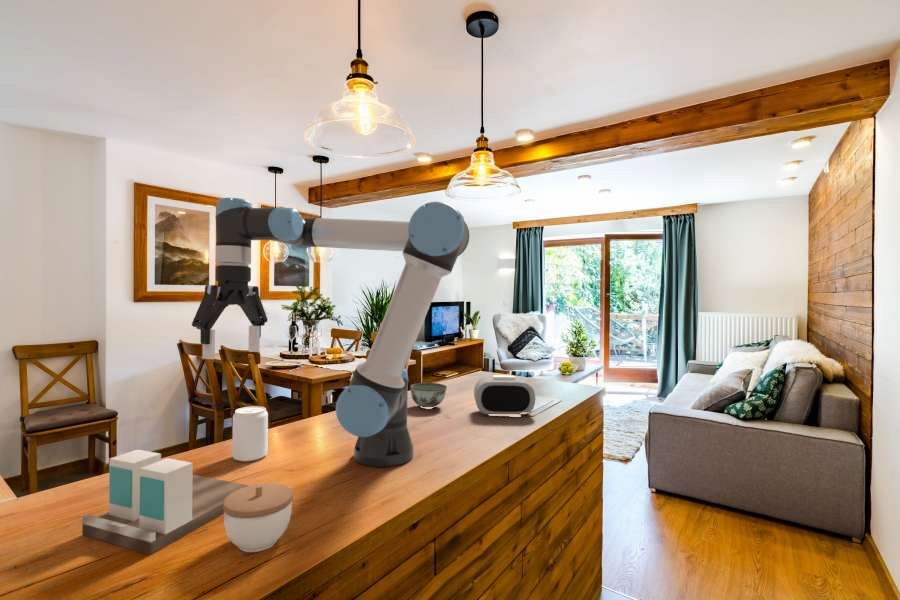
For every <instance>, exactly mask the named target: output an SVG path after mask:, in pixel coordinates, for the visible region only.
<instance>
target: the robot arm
mask: <svg viewBox="0 0 900 600" xmlns="http://www.w3.org/2000/svg"><path fill="white" fill-rule="evenodd" d="M215 213H216V214H215V224H216V225H215V232H216V233H215V234H216V235H215V236H216V237H215V238H216V240H215V241H216V243H215V263H216V264H218V265H216V266H215V281H216V282H217V284H207V285H205V287H204V295H203V297H202V299H201V302H200V304H199V307H198V308H197V311H196V313H195V315H194V318H193V319H192V322H191V326H192V327H193V328H196V329H197V330H200V340H199V341H200V342H199V343H200V344H201V345H202V352H201V353H202V355H201V356H202V360H215V357H216V356H215V355H216V354H215V352H216V350H215V348H216V345H215V344H216V338H215V337H216V336H215V335H216V333H215V332H216V330H215V329H212V328H213V327H214V326H215V324H216V322H217V321H218V319H219V318H220V316H221V315H222V314H223V312H224V310H225V309H226V308H227V307H228V306H233V305H237V306H239V307H240V308H241V310H242V311H243V314H244V315H245V316H246V317H247V319H248V321H249V323H250V324H251V325H248V352H249V353H253V352H254V353H259V352H260V338H261V337H262V336H261V335H262V327H263V326H265V325H266V323H267V322H268V316H267V314H266V311H265V308H264V306H263V303H262V300H261V297H260V289H259V287H258V285H253V286H252V285H251V286H250V285H249V283H251V280H252V268H251V267H250V266H249V265H251V264H252V241H273V242H279V243H283V244H287V245H291V246H295V247H296V248H304V249H307V248H330V249H331V248H333V249H350V250H353V249H354V250H366V251H367V250H368V251H389V252H402V253H401V254H402V256H403V258H404V261H405V264H404V267H403V269H402V272H401V274H400V276H399V279H398V282H397V284H396V287H395V288H394V289H395V290H394V291H393V294H392V296H391V298H390V301H389V304H388V306H387V308H386V311H385V314H384V316H383V317H382V318H383V319H382V321H381V323H380V325H379V329H378V331H377V333H376V336H375V338H374V341H373V343H372V345H371V348H370V350H369V353H368V356H367V358H366V360H365V361H364V362H362V363H359V364H357V365H356V367H355V370H354V372H353V374H352V376H351V379H350V381H349V384H348V386H347V387H346V388H344V389H343V391H342V392H341V393H340V395H339V396H338V399H337V400H336V404H335V415H336V418H337V420H338V422H339V424H340V426H341V427H342V428H343V429H344V430H345V431H346V432H347V433H349V434H351V435H353V436H355V437H357V439H356V442H355V445H354V449H353V459H354V461H355V462H357V464H358V463H359V464H360V465H364V466H369V467H379V468H380V467H382V468H385V467H386V468H387V467H394V466H399V465H403V464H405V463H407V462H409V461H410V460H412V459H413V457H414V444H413V441H412V438H411V434H410V431H409V427H408V396H409V395H408V394H409V393H408V392H409V391H408V389H409V387H408V386H409V385H408V383H409V375H408V374H409V373H408V370H407V369H406V365H407V363H408V360H409V358H410V356H411V353H412V351H413V348H414V345H415V343H416V341H417V339H418V336H419V334H420V331H421V329H422V326H423V324H424V321H425V320H426V316H427V314H428V312H429V309H430V306H431V305H432V304H431V303H432V302H433V299H434V297H435V295H436V292H437V290H438V287H439V285H440V284H441V283H440V282H441V280H442V278H444V277H445V276H448V275H449V274H451V273H452V271H453V268H454V266H455V264H456V262H457V260H458V257H460V256H461V255H462V254H463V253H464V252H465V250H466V249H467V247H468V245H469V242H470V229H469V227H468V225H467V223H466V221H465V219H464V216H463V215H462V213H461V211H459V210H458V209H457V208H456V207H454V206H452V205H451V204H449V203H447V202H443V201H431V202H430V201H429V202H426V203H424V204H422V205H421V206H419V207H418V208H417V209H416V210H415V211H414V212H413V214H412V216H411V217H410V220H409V221H403V220H402V221H401V220H379V219H378V220H374V219H353V218H331V217H329V218H328V217H327V218H326V217H325V218H324V217H306V216H305V217H302V215H301V214H300V212H299V210H298V209H297V208H293V207H285V206H279V207H253V204H252V202H251V201H249V200H247V199H244V198H238V197H222V198H220V199H218V200H217V202H216V211H215Z"/></svg>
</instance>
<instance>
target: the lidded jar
mask: <svg viewBox="0 0 900 600" xmlns="http://www.w3.org/2000/svg"><path fill="white" fill-rule="evenodd" d="M293 497H294V492H293V490H292V489H291V488H290V487H289V486H288V485H285V484H282V483H276V482H275V483H274V482H267V483H266V482H264V483H257V484H252V485H251V484H250V485H249V486H247V487H244V488H241V489H238V490H236V491H234V492H232V493H231V494H229V495H228V496H227V497H226V498H225V500H224V502H223V510H224V514H223V524H224V528H225V533H226V534H227V537H228V539H229V540H230V542H231V543H232V544H233V545H235V546H236V547H238V549H239V550H240V551H241V552H245V553H258V552H264V551H266V550H268V549H270V548H272V547H274V546H275V545H276V544H277V542H278V541H277V540H279V539H280V538H281V537H282V536H283V535H284V533H285V532H286V530H287V529H288V526H289V523H290V520H291V517H292V508H293V499H294V498H293ZM275 543H276V544H275ZM274 544H275V545H274Z"/></svg>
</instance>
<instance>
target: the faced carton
mask: <svg viewBox="0 0 900 600" xmlns="http://www.w3.org/2000/svg"><path fill="white" fill-rule="evenodd" d="M193 464H194V463H193V462H191V461H185V460H181V459H175V458H169V457H167V458H163V459H161V461H158V462H155V463H153V464H150V465H147V466H145V467H142V468H140V485H139V528H143V529H146V530H150V531H154V532H158V533H162V534H167V533H169V532H171V531H173V530H175V529H177V528H178V527H180V526H182V525H184V524H186V523H188V522H190V521H191V520H192V487H193V476H194V474H193V472H194V469H193V467H194V465H193Z"/></svg>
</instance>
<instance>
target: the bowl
mask: <svg viewBox="0 0 900 600" xmlns="http://www.w3.org/2000/svg"><path fill="white" fill-rule="evenodd" d="M447 387H448V386H447V385H445V384H442V383H437V382H418V383H413V384H411V385H410V386H409V388H410V396H411V399H412V401H413V402H414V403H415V404H416V405H418V406H419V405H420V406H422V407H434V406H436V407H437V406H439V405H441V403H442V402H443V401H444V399H445V395H446V392H447Z"/></svg>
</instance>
